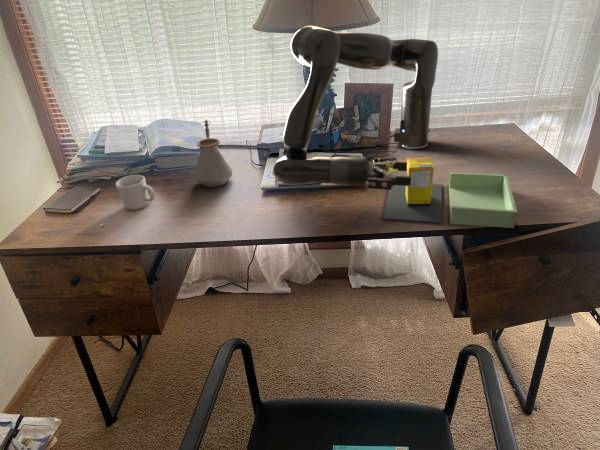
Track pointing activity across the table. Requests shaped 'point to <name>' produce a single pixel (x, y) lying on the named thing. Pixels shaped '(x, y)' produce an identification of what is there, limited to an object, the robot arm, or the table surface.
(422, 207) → the grey mat
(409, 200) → the supplement box
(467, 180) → the desk tray
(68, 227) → the table surface
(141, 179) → the cup
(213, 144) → the coffee pot
